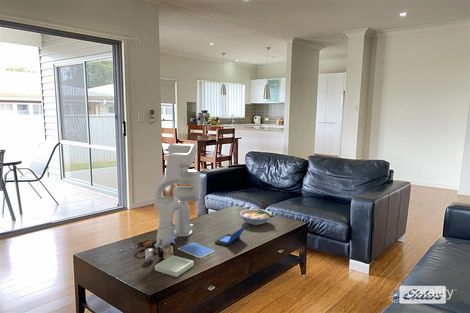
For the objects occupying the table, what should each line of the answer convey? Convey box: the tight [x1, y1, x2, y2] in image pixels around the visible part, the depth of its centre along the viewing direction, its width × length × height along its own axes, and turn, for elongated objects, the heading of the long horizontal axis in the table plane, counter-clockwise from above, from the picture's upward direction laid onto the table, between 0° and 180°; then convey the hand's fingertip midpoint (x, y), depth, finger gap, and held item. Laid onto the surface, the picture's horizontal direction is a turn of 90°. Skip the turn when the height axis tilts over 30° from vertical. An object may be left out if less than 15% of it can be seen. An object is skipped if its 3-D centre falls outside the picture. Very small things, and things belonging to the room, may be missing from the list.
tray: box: [154, 254, 195, 278], centre depth 170 cm, size 14×14×2 cm
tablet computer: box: [177, 241, 216, 259], centre depth 192 cm, size 19×13×1 cm, turn 49°
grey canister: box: [144, 248, 155, 263], centre depth 178 cm, size 4×4×6 cm
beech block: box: [160, 245, 174, 260], centre depth 183 cm, size 5×5×6 cm
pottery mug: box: [136, 238, 157, 256], centre depth 190 cm, size 12×10×8 cm
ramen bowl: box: [239, 207, 275, 226], centre depth 238 cm, size 25×23×8 cm
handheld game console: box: [214, 226, 246, 248], centre depth 204 cm, size 16×13×9 cm
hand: (166, 254), depth 183 cm, fingers open, 9 cm apart
